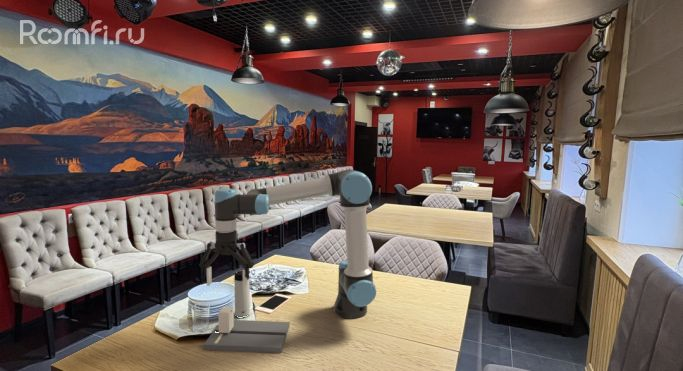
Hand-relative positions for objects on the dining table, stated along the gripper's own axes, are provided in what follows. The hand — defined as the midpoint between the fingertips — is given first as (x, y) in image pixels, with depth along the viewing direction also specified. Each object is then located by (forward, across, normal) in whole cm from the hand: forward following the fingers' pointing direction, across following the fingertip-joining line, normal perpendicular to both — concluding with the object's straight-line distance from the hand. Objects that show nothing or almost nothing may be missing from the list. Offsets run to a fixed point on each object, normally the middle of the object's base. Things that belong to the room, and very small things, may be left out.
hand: (227, 284), depth 132 cm
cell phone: (+22, -12, -29) cm, 38 cm away
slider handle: (+21, 0, 0) cm, 21 cm away
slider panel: (+21, -8, 0) cm, 22 cm away
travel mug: (+21, 0, -17) cm, 27 cm away
